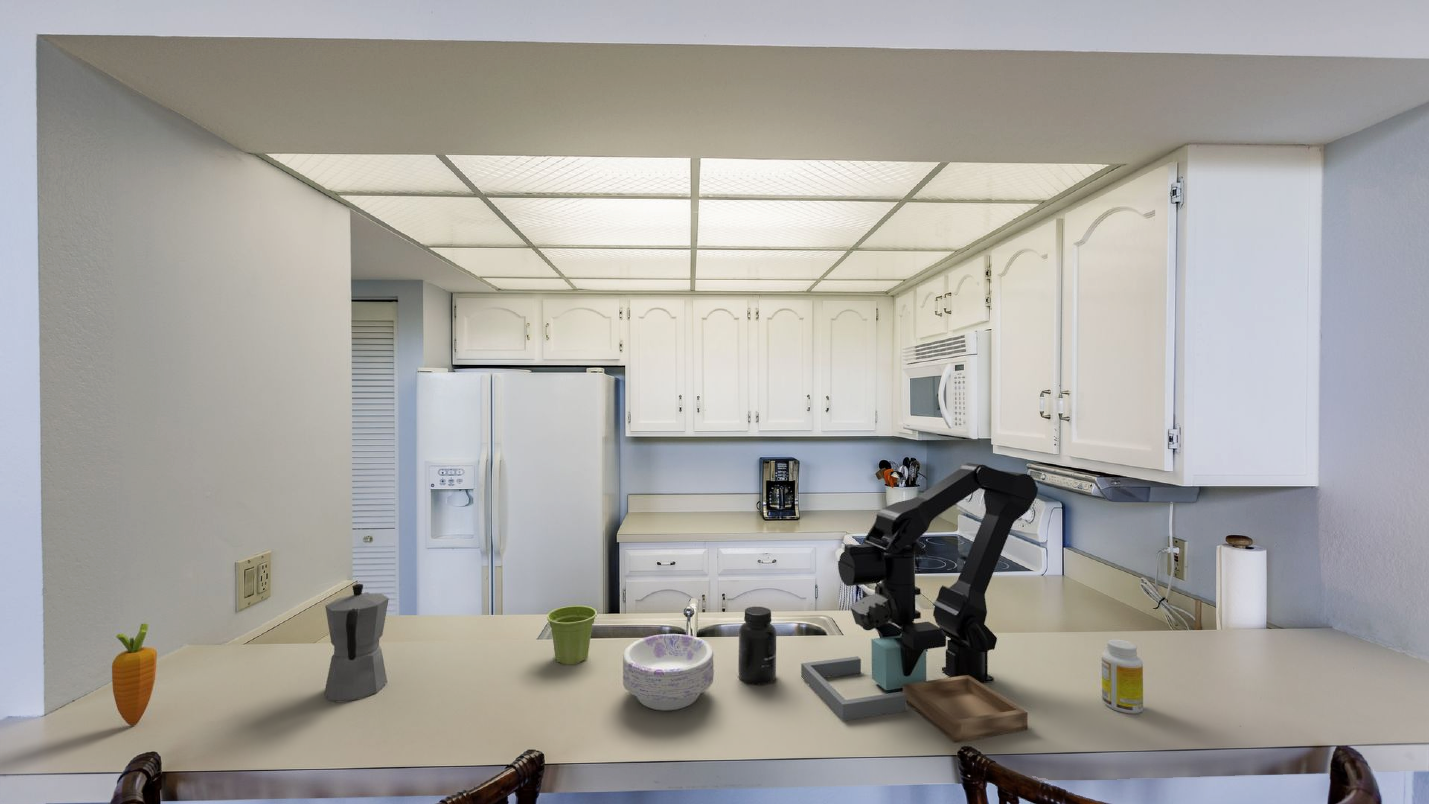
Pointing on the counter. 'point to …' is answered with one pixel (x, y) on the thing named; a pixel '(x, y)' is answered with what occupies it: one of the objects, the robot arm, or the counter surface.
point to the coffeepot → (356, 645)
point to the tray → (965, 708)
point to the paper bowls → (668, 670)
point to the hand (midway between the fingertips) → (898, 669)
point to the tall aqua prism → (893, 664)
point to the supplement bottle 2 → (1122, 677)
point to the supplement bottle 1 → (757, 647)
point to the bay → (851, 707)
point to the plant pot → (571, 632)
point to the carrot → (133, 676)
